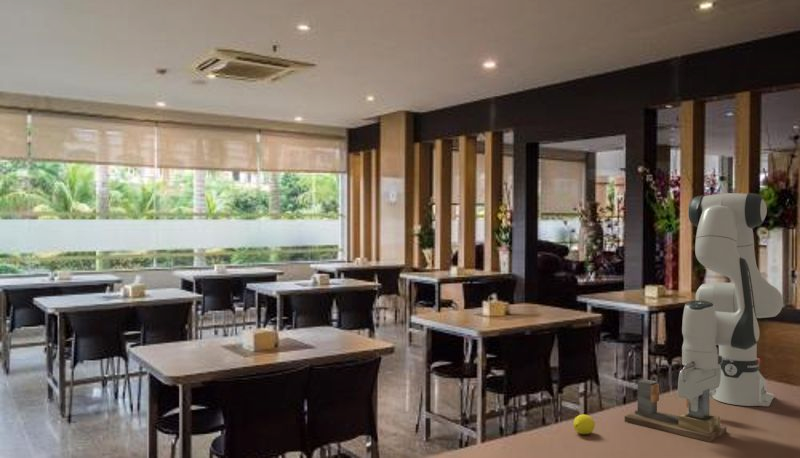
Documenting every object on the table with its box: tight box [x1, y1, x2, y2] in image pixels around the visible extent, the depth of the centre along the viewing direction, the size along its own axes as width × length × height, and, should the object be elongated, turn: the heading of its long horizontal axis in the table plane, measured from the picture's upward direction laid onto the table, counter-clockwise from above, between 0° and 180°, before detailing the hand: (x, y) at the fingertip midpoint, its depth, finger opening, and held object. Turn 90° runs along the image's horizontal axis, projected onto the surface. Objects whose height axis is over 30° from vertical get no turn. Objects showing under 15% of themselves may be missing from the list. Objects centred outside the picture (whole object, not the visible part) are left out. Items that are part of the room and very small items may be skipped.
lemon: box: [572, 414, 596, 435], centre depth 172 cm, size 7×5×5 cm
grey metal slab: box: [686, 389, 710, 421], centre depth 174 cm, size 5×4×9 cm
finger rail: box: [624, 378, 727, 443], centre depth 179 cm, size 12×24×12 cm, turn 42°
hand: (699, 409), depth 173 cm, fingers closed on grey metal slab, 4 cm apart
